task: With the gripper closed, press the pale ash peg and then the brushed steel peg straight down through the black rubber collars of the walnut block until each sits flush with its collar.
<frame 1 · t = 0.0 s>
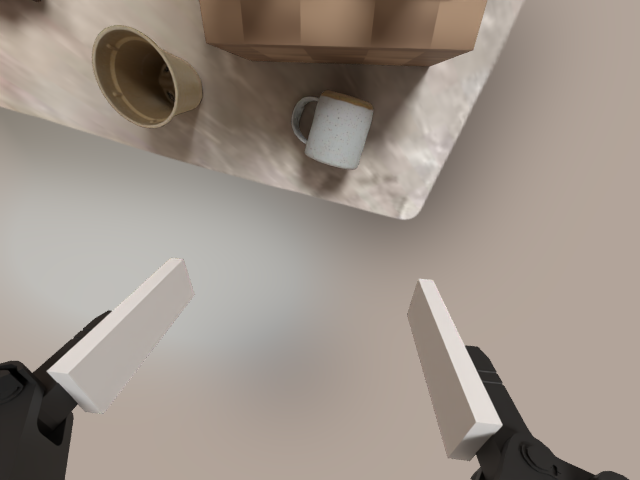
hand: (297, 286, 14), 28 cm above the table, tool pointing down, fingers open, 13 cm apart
ceramic mug: (330, 127, 35), on the table
flower pot: (182, 85, 34), on the table
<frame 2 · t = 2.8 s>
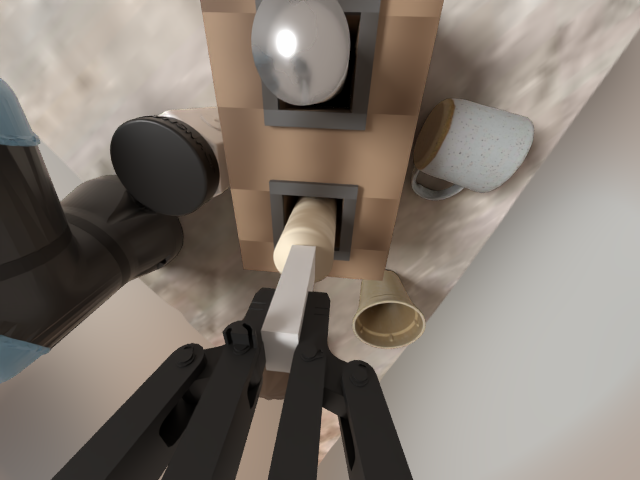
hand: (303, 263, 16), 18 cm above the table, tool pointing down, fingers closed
ceramic mug: (445, 152, 29), on the table
flower pot: (379, 283, 39), on the table
walnut block: (325, 135, 28), on the table
peg ash: (312, 223, 21), point 12 cm above the table, slide at 5.3 cm, touching gripper
decorative dome: (278, 343, 50), on the table
peg steel: (314, 64, 14), point 13 cm above the table, slide at 6.0 cm
jar: (222, 146, 30), on the table
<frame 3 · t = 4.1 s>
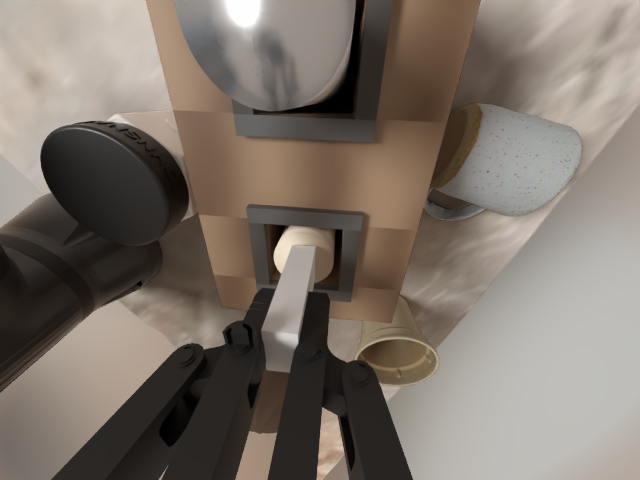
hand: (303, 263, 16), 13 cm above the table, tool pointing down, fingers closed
ceramic mug: (463, 165, 24), on the table
flower pot: (384, 306, 35), on the table
walnut block: (322, 142, 24), on the table
peg ash: (312, 223, 21), point 7 cm above the table, slide at 0.1 cm, touching gripper
decorative dome: (272, 366, 46), on the table
peg steel: (301, 50, 10), point 13 cm above the table, slide at 6.0 cm
jar: (202, 155, 26), on the table
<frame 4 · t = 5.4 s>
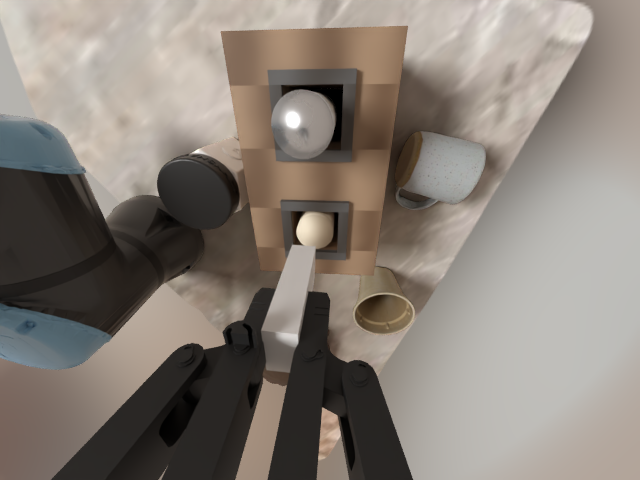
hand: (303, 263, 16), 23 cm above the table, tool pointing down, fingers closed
ceramic mug: (423, 170, 34), on the table
flower pot: (376, 278, 45), on the table
walnut block: (323, 155, 34), on the table
peg ash: (319, 212, 31), point 7 cm above the table, slide at 0.1 cm
decorative dome: (288, 336, 55), on the table
peg steel: (311, 119, 20), point 13 cm above the table, slide at 6.0 cm
jar: (237, 168, 36), on the table
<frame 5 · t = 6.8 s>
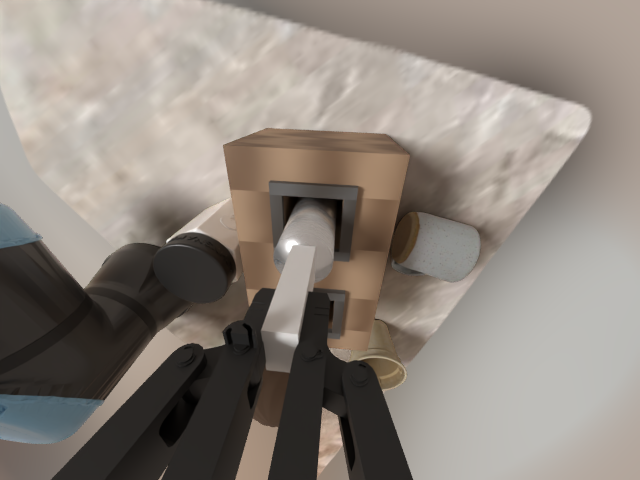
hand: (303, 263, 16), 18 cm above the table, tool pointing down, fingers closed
ceramic mug: (419, 239, 35), on the table
flower pot: (370, 328, 45), on the table
walnut block: (321, 219, 34), on the table
decorative dome: (280, 372, 55), on the table
peg steel: (312, 223, 21), point 12 cm above the table, slide at 5.2 cm, touching gripper
jar: (235, 224, 36), on the table
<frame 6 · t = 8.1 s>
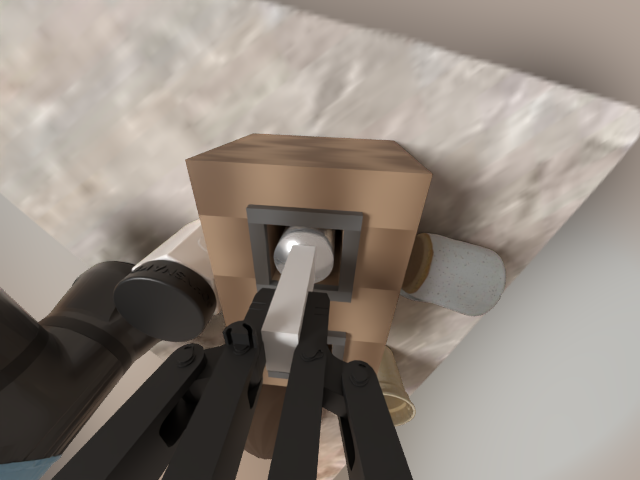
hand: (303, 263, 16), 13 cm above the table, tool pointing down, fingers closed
ceramic mug: (429, 261, 30), on the table
flower pot: (373, 353, 40), on the table
walnut block: (318, 237, 30), on the table
decorative dome: (275, 395, 51), on the table
peg steel: (312, 223, 21), point 7 cm above the table, slide at 0.1 cm, touching gripper
jar: (220, 242, 32), on the table
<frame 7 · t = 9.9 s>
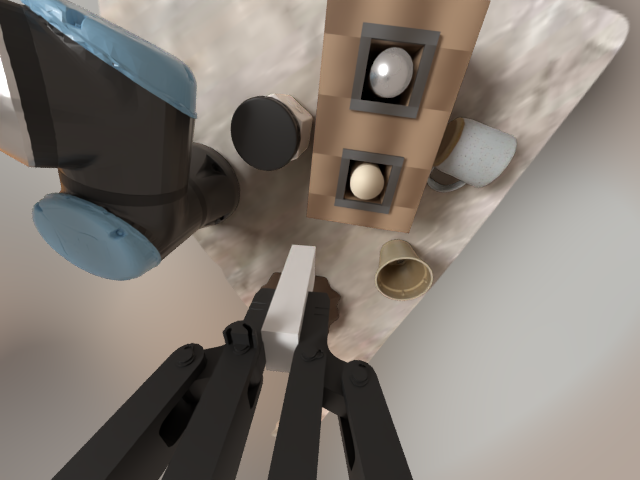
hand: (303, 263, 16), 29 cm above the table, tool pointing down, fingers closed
ceramic mug: (454, 156, 38), on the table
flower pot: (395, 252, 48), on the table
walnut block: (370, 124, 37), on the table
peg ash: (364, 172, 34), point 7 cm above the table, slide at 0.1 cm
decorative dome: (300, 300, 58), on the table
peg steel: (384, 78, 28), point 7 cm above the table, slide at 0.1 cm
jar: (287, 127, 39), on the table
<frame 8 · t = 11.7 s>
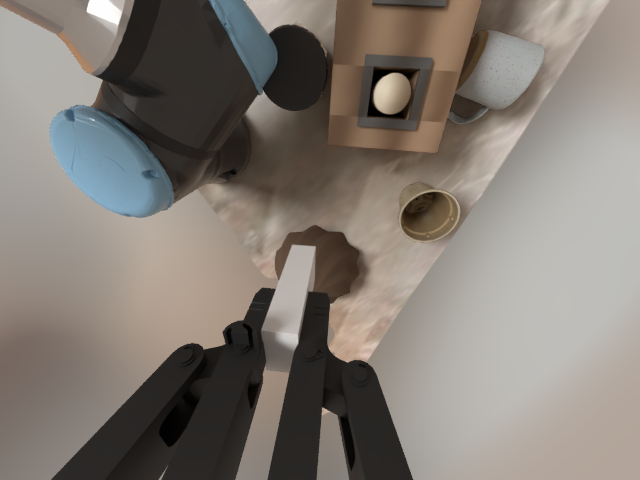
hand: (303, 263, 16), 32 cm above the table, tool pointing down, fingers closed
ceramic mug: (473, 84, 36), on the table
flower pot: (415, 198, 46), on the table
walnut block: (385, 51, 35), on the table
peg ash: (385, 94, 32), point 7 cm above the table, slide at 0.1 cm
decorative dome: (318, 262, 56), on the table
jar: (297, 63, 37), on the table, touching arm
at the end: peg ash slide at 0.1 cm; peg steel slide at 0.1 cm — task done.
